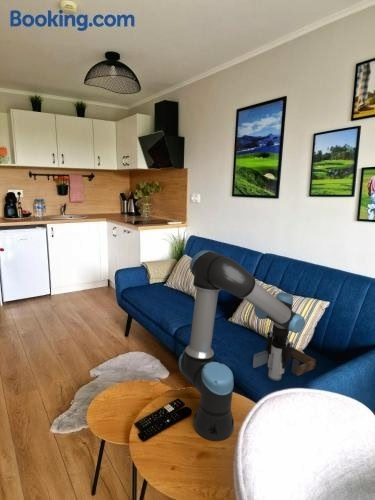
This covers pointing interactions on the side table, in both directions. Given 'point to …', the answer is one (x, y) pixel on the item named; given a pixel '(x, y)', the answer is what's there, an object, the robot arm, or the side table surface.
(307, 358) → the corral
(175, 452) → the side table surface
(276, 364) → the travel mug
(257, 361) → the grey rectangular panel
